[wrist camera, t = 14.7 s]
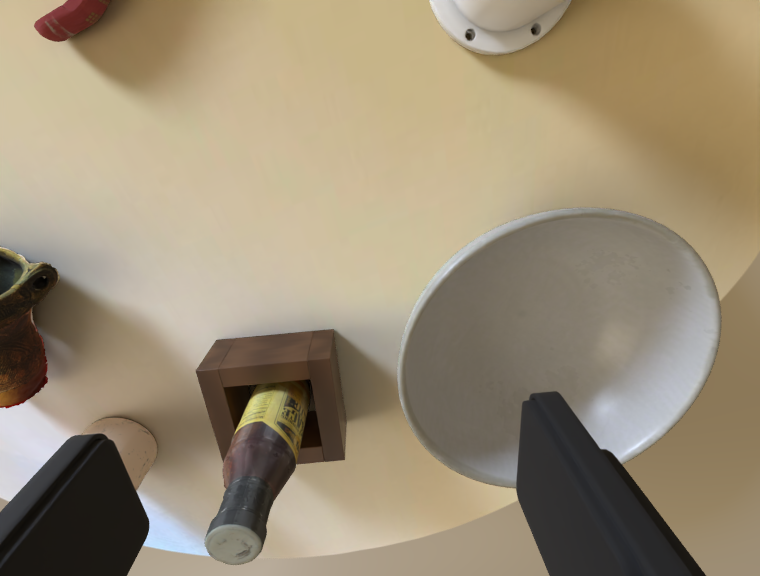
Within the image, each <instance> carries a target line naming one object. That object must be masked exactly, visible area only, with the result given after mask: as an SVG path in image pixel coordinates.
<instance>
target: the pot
mask: <svg viewBox="0 0 760 576" xmlns="http://www.w3.org/2000/svg"><path fill="white" fill-rule="evenodd" d="M28 263H29V262H27V261H26V260H25V257H24V256H20V254H16V253H15V252H13V251H11V250H10V249H6V248H4V247H3V248H1V247H0V408H3V407H6V408H9V407H12V406H15V405H19V404H21V403H24V402H25V401H26V400H28V399H30V398H31V397H33V396H34V395H35V394H36V393H38V392H39V391H40V390H41V388H44V385H45V384H47V382H48V378H47V377H46V376H47V375H46V373H47V364H46V362H47V360H46V356H45V349H44V342H43V340H42V339H43V338H42V337H41V335H39V333H38V330H37V327H36V325H35V323H34V322H33V314H32V307H33V306H34V305H37V304H39V303H40V302H41V301H42V300H43V299H44V297H45V296H46V295H47V294H48V292H49V291H50V290H52V289H53V288H54V287H55V285H56V284H57V283H58V281H60V280H59V278H60V277H59V275H58V271H57V269H56V268H53V267H52V266H51V264H47V263H44V262H40V263H35V264H33V263H30V264H28ZM44 276H45V277H44ZM45 375H46V376H45Z"/></svg>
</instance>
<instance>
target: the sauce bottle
mask: <svg viewBox="0 0 760 576" xmlns="http://www.w3.org/2000/svg"><path fill="white" fill-rule="evenodd" d="M309 402H310V383H309V381H308V379H307V380H297V381H286V382H275V383H265V384H257V385H256V387H255V389H254V392H253V394H252V396H251V398H250V400H249V403H248V405H247V407H246V409H245V412H244V414H243V416H242V418H241V421H240V423H239V425H238V427H237V429H236V432H235V434H234V436H233V438H232V442H231V446H230V448H229V450H228V452H227V455H226V457H225V460H224V464H223V478H224V486H225V488H226V491H225V493H224V496H223V502H222V504H221V506H220V509H219V512H218V514H217V516H216V517H215V518H214V519H213V520H212V522H211V524H210V527H209V529H208V532H207V535H206V538H205V547H206V549H207V551H208V553H209V555H210V556H211V557H213V558H214V559H215V560H217V561H221V562H223V563H226V564H230V565H239V564H244V563H247V562H250V561H252V560H253V559H255V558H256V557H257V556H258V555H259V553H260V552H261V550H262V547H263V544H264V541H265V538H266V535H267V534H266V533H267V529H266V524H267V520H268V516H269V512H270V509H271V507H272V505H273V501H274V500H275V498H276V497H277V496H278V494H279V493H280V491H281V490H282V488H283V487H284V485H285V484H286V482H287V481H288V479H289V478H290V476H291V475H292V473H293V472H294V470H295V468H296V463H297V459H298V454H299V449H300V445H301V441H302V436H303V431H304V426H305V421H306V416H307V412H308V407H309Z"/></svg>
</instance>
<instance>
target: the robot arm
mask: <svg viewBox="0 0 760 576" xmlns="http://www.w3.org/2000/svg"><path fill="white" fill-rule="evenodd" d="M429 2H430V5H431V8H432V11H433V12H434V14H435V16H436V18H437V20H438V22H439V24H440V25H441V26H442V28H443V29H444V30H445V31H446V33H447V34H448V35H449V36H450V37H451V38H452V39H453V40H455V41H456V42H457V43H458V44H459V45H461V46H463V47H465V48H467V49H469V50H471V51H473V52H477V53H480V54H484V55H503V54H508V53H513V52H515V51H518V50H520V49H523V48H525V47H527V46H529V45H531V44H532V43H534V42H536V41H538V40H539V39H540V38H541V37H543V36H544V35H545V34H546V33H548V32H549V31H550V30H551V29H552V28H553V26H554V25H555V24H556V23H557V22H558V21H559V20H560V19H561V17H562V15H563V14H564V12H565V11H566V9H567V8H568V6H569V5H570V3H571V0H429ZM531 29H534V31H535V32H534V34H532V33H531ZM466 34H470V36H471V38H470V40H467V39H466ZM516 490H517V496H518V499H519V502H520V505H521V507H522V510H523V512H524V515H525V517H526V519H527V522H528V524H529V527H530V529H531V531H532V534H533V536H534V539H535V541H536V544H537V546H538V549H539V551H540V553H541V556H542V558H543V561H544V563H545V566H546V568H547V570H548V573H549V575H550V576H706V575H705V574H704V572H703V571H702V570H701V568H700V567H699V566H698V564H697V563H696V562H695V560H694V559H693V558H692V557H691V555H690V554H689V552H688V551H687V550H686V548H685V547H684V546H683V545H682V543H681V542H680V541H679V539H678V538H677V537H676V535H675V534H674V533H673V532H672V530H671V529H670V527H669V526H668V525H667V524H666V522H665V521H664V519H663V518H662V517H661V516H660V514H659V513H658V512H657V510H656V509H655V508H654V506H653V505H652V504H651V502H650V501H649V500H648V498H647V497H646V496H645V494H644V493H643V492H642V490H641V489H640V488H639V486H638V485H637V484H636V482H635V481H634V480H633V479H632V477H631V476H630V475H629V473H628V472H627V471H626V469H625V468H624V467H623V466H622V464H621V463H620V461H619V460H618V459H617V458H616V457H615V455H614V454H613V453H612V452H610V451H608V450H607V449H600V448H599V446H598V445H597V443H596V442H595V441H594V439H593V438H592V437H591V435H590V434H589V432H588V431H587V430H586V428H585V427H584V426H583V424H582V423H581V421H580V420H579V419H578V417H577V416H576V415H575V413H574V412H573V411H572V409H571V408H570V406H569V405H568V404H567V402H566V401H565V400H564V398H563V397H562V395H561V394H560V393H559V392H557V391H552V392H541V393H532V394H531V395H530V397H529V400H526V401H523V403H522V411H521V424H520V438H519V452H518V466H517V480H516ZM148 531H149V519H148V517H147V515H146V512H145V510H144V508H143V506H142V503H141V501H140V499H139V497H138V494H137V492H136V490H135V488H134V485H133V483H132V481H131V479H130V476H129V474H128V472H127V470H126V467H125V465H124V463H123V461H122V458H121V456H120V454H119V452H118V449H117V447H116V445H115V443H114V441H113V440H111V439H108V437H107V436H106V435H104V434H102V433H97V434H86V435H75V436H73V437H71V438H69V439H68V440H67V441H66V442H65V443H64V444H63V445H62V446H61V447H60V448H59V449H58V451H57V452H56V453H55V454H54V455H53V456H52V457H51V458H50V459H49V460H48V461H47V462H46V463H45V465H44V466H43V467H42V468H41V469H40V470H39V471H38V472H37V473H36V474H35V475H34V476H33V477H32V478H31V480H30V481H29V482H28V483H27V484H26V485H25V486H24V487H23V488H22V489H21V490H20V491H19V492H18V494H17V495H16V496H15V497H14V498H13V499H12V500H11V501H10V502H9V503H8V504H7V505H6V506H5V508H4V509H3V510H2V511H1V512H0V576H127V574H128V572H129V570H130V568H131V567H132V565H133V563H134V561H135V559H136V557H137V555H138V553H139V551H140V549H141V547H142V545H143V544H144V542H145V540H146V537H147V535H148Z"/></svg>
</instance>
